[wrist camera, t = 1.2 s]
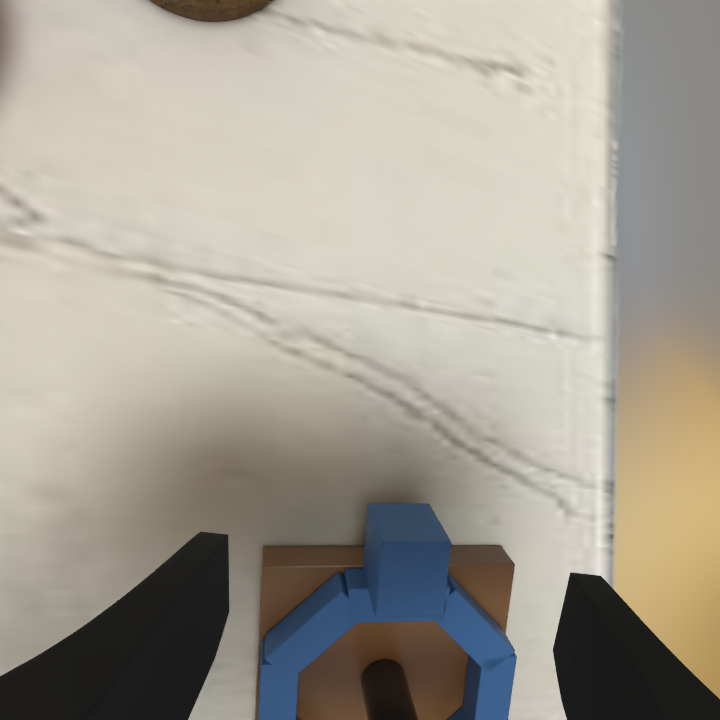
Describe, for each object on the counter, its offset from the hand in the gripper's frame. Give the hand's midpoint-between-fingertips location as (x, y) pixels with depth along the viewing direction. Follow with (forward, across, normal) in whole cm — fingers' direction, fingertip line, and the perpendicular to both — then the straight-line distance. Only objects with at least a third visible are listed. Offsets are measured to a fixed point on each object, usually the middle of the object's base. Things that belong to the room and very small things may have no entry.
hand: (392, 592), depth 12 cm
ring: (+8, 0, +10) cm, 13 cm away
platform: (+10, 0, +12) cm, 15 cm away
